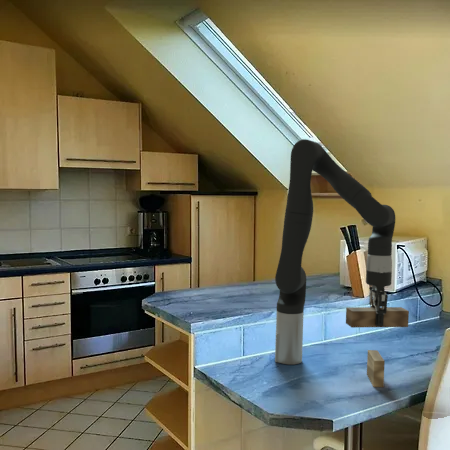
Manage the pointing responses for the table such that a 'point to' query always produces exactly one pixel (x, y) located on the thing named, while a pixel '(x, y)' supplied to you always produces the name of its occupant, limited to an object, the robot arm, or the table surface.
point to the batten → (368, 317)
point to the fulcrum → (375, 368)
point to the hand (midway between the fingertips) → (376, 323)
